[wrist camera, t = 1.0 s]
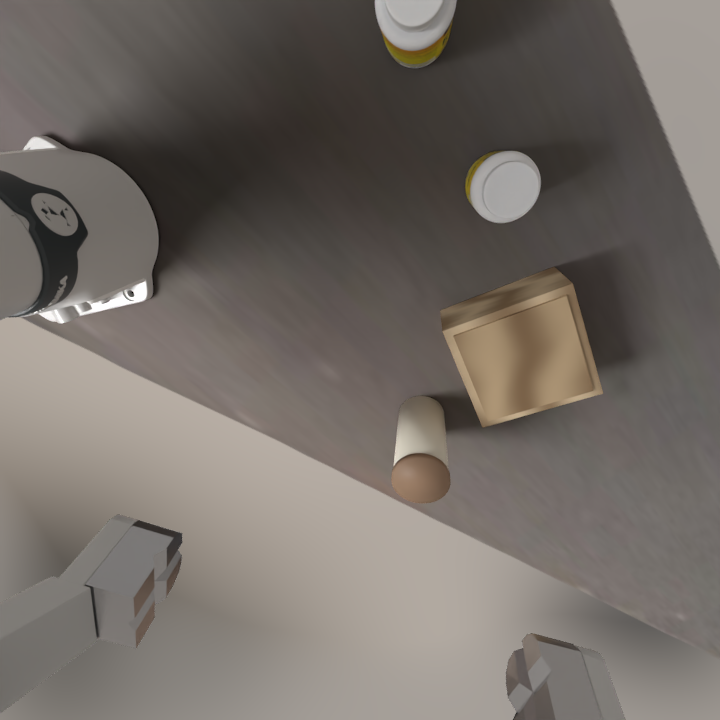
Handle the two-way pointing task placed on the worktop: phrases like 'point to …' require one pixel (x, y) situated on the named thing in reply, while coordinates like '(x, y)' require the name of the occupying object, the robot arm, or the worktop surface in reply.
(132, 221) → the robot arm
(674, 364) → the worktop surface
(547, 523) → the worktop surface
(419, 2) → the supplement bottle
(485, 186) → the supplement bottle
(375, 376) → the worktop surface
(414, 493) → the cream tin
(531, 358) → the oak block
